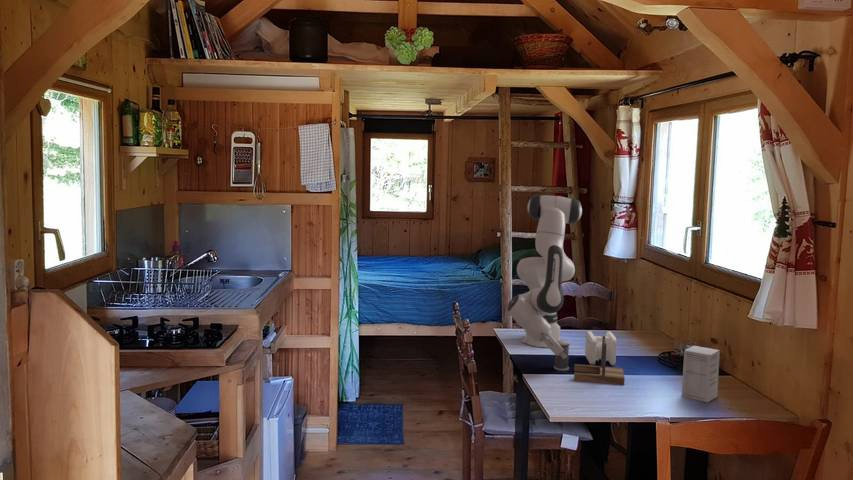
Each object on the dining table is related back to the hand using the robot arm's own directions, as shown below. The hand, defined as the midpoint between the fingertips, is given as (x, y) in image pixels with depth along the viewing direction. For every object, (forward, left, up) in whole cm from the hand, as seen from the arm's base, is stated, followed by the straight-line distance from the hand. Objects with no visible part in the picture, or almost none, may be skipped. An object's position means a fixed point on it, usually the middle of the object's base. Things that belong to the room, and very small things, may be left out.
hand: (563, 355), depth 270 cm
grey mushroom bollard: (0, -1, -5) cm, 5 cm away
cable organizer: (-14, +14, -6) cm, 21 cm away
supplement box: (+20, +47, -6) cm, 52 cm away
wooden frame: (+8, +13, -5) cm, 16 cm away
